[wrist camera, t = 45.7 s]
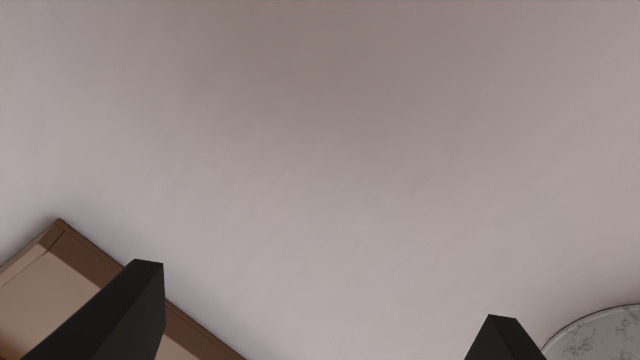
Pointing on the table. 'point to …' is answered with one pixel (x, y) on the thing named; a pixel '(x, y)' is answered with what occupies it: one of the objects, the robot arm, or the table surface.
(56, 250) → the tray
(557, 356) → the gray speckled cylinder
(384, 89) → the table surface
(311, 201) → the table surface
